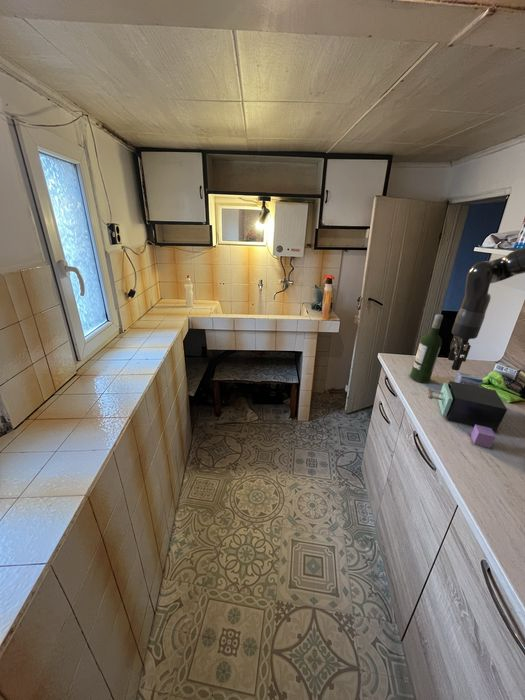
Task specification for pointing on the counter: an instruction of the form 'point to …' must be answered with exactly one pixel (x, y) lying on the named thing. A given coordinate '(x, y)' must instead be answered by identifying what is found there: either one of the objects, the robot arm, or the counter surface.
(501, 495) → the counter surface
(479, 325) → the robot arm
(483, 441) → the purple cube
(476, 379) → the medicine box
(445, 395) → the drawer
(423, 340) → the wine bottle
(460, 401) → the drawer cabinet
